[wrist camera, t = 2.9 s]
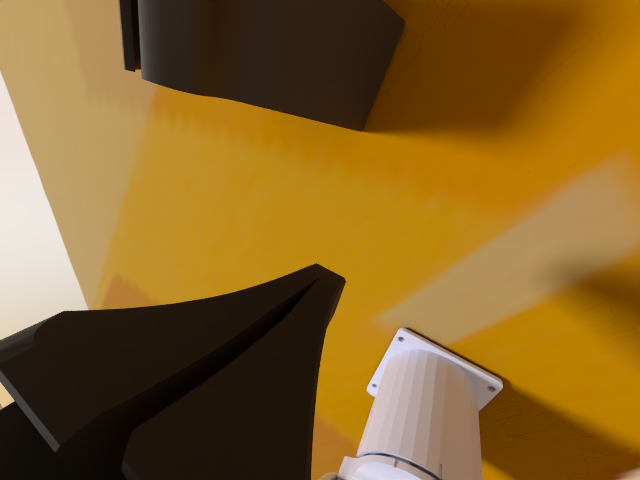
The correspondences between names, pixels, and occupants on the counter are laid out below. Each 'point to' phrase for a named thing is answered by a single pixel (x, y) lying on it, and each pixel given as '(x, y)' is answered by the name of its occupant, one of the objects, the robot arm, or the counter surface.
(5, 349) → the robot arm
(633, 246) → the counter surface
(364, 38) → the door stopper
